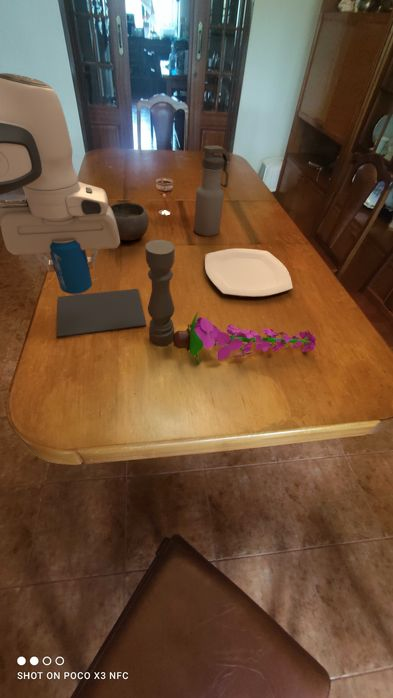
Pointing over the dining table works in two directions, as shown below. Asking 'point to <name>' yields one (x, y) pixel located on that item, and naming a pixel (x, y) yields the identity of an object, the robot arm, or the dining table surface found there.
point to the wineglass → (164, 191)
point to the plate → (247, 272)
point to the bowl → (130, 220)
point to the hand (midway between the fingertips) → (72, 268)
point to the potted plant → (234, 339)
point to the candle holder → (160, 291)
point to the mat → (99, 312)
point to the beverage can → (71, 266)
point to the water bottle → (211, 191)
